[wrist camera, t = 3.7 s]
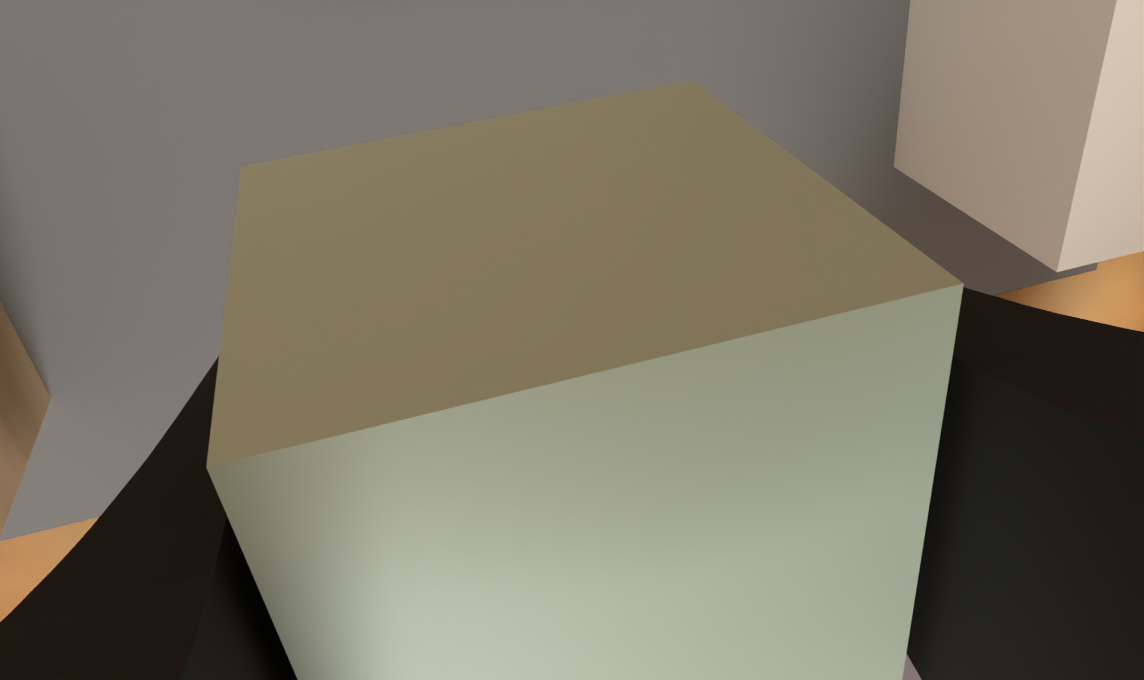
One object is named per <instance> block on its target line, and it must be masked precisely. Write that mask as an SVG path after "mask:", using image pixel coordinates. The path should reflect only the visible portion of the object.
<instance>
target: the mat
mask: <svg viewBox="0 0 1144 680" xmlns="http://www.w3.org/2000/svg"><path fill="white" fill-rule="evenodd" d="M909 9H910V0H0V302H1V304H2V306H3V308H4V310H5V312H6V313H7V315H8V317H9V319H10V321H11V323H12V325H13V327H14V329H15V330H16V332H17V334H18V336H19V338H20V340H21V342H22V344H23V346H24V348H25V349H26V351H27V353H28V355H29V357H30V359H31V361H32V363H33V365H34V367H35V368H36V370H37V372H38V374H39V376H40V378H41V380H42V382H43V384H44V386H45V387H46V389H47V391H48V393H49V395H50V397H51V400H50V403H49V406H48V408H47V411H46V414H45V417H44V419H43V422H42V425H41V427H40V430H39V433H38V435H37V438H36V441H35V444H34V446H33V449H32V452H31V454H30V457H29V460H28V463H27V465H26V468H25V471H24V473H23V476H22V479H21V481H20V484H19V487H18V490H17V492H16V495H15V498H14V500H13V503H12V506H11V508H10V511H9V514H8V517H7V519H6V522H5V525H4V527H3V530H2V533H1V535H0V541H3V540H7V539H11V538H15V537H19V536H23V535H27V534H31V533H35V532H39V531H43V530H47V529H51V528H55V527H59V526H63V525H67V524H71V523H75V522H79V521H84V520H88V519H92V518H96V517H100V516H101V515H102V514H103V512H104V511H105V510H106V509H107V507H108V506H109V505H110V504H111V502H112V501H113V500H114V499H115V498H116V496H117V495H118V494H119V493H120V491H121V490H122V489H123V488H124V486H125V485H126V484H127V483H128V481H129V480H130V479H131V478H132V477H133V475H134V474H135V473H136V472H137V470H138V469H139V468H140V467H141V465H142V464H143V463H144V462H145V460H146V459H147V458H148V456H149V455H150V454H151V452H152V451H153V449H154V448H155V447H156V445H157V444H158V442H159V441H160V440H161V438H162V437H163V436H164V434H165V433H166V431H167V430H168V429H169V427H170V426H171V425H172V423H173V422H174V420H175V419H176V417H177V416H178V414H179V413H180V412H181V410H182V409H183V407H184V406H185V404H186V403H187V401H188V400H189V398H190V397H191V395H192V394H193V393H194V391H195V390H196V388H197V387H198V385H199V384H200V382H201V381H202V379H203V378H204V376H205V375H206V374H207V372H208V371H209V369H210V368H211V366H212V365H213V363H214V362H215V361H216V359H217V358H218V356H219V352H220V344H221V335H222V326H223V317H224V309H225V300H226V291H227V282H228V274H229V265H230V256H231V248H232V239H233V230H234V221H235V213H236V204H237V195H238V186H239V178H240V169H241V166H246V165H252V164H257V163H262V162H267V161H273V160H278V159H283V158H288V157H294V156H299V155H304V154H309V153H314V152H320V151H325V150H330V149H335V148H341V147H346V146H351V145H356V144H361V143H367V142H372V141H377V140H382V139H388V138H393V137H398V136H403V135H408V134H414V133H419V132H424V131H429V130H435V129H440V128H445V127H450V126H455V125H461V124H466V123H471V122H476V121H482V120H487V119H492V118H497V117H503V116H508V115H513V114H518V113H523V112H529V111H534V110H539V109H544V108H550V107H555V106H560V105H565V104H570V103H576V102H581V101H586V100H591V99H597V98H602V97H607V96H612V95H617V94H623V93H628V92H633V91H638V90H644V89H649V88H654V87H659V86H664V85H670V84H675V83H680V82H685V81H691V80H693V81H694V82H695V83H697V84H698V85H699V86H701V87H702V88H703V89H705V90H706V91H707V92H709V93H710V94H711V95H713V96H714V97H715V98H717V99H718V100H719V101H721V102H722V103H723V104H725V105H726V106H727V107H729V108H730V109H731V110H733V111H734V112H736V113H737V114H738V115H740V116H741V117H742V118H744V119H745V120H746V121H748V122H749V123H750V124H752V125H753V126H754V127H756V128H757V129H758V130H760V131H761V132H762V133H764V134H765V135H766V136H768V137H769V138H770V139H772V140H773V141H774V142H776V143H777V144H778V145H780V146H781V147H782V148H784V149H785V150H786V151H788V152H789V153H790V154H792V155H793V156H794V157H796V158H797V159H798V160H800V161H801V162H802V163H804V164H805V165H806V166H808V167H809V168H810V169H812V170H813V171H814V172H816V173H817V174H818V175H820V176H821V177H822V178H824V179H825V180H826V181H828V182H829V183H830V184H832V185H833V186H834V187H836V188H837V189H838V190H840V191H841V192H842V193H844V194H845V195H846V196H848V197H849V198H850V199H852V200H853V201H854V202H856V203H857V204H858V205H860V206H861V207H862V208H864V209H865V210H866V211H868V212H869V213H870V214H872V215H873V216H874V217H876V218H877V219H878V220H880V221H881V222H882V223H884V224H885V225H886V226H888V227H889V228H890V229H892V230H893V231H894V232H896V233H897V234H898V235H900V236H901V237H902V238H904V239H905V240H906V241H908V242H909V243H910V244H912V245H913V246H914V247H916V248H917V249H918V250H920V251H921V252H922V253H924V254H925V255H926V256H928V257H929V258H930V259H932V260H933V261H934V262H936V263H937V264H938V265H940V266H941V267H942V268H944V269H945V270H946V271H948V272H949V273H950V274H952V275H953V276H954V277H956V278H957V279H958V280H960V281H961V282H962V283H964V285H963V287H965V288H968V289H972V290H975V291H978V292H982V293H985V294H989V295H996V294H1000V293H1004V292H1008V291H1012V290H1016V289H1020V288H1024V287H1028V286H1032V285H1036V284H1040V283H1044V282H1048V281H1052V280H1056V279H1060V278H1065V277H1069V276H1073V275H1077V274H1081V273H1085V272H1089V271H1093V270H1096V268H1097V264H1098V262H1097V263H1092V264H1088V265H1084V266H1080V267H1076V268H1072V269H1068V270H1064V271H1060V272H1056V271H1054V270H1052V269H1051V268H1049V267H1048V266H1046V265H1045V264H1043V263H1042V262H1040V261H1039V260H1037V259H1035V258H1034V257H1032V256H1031V255H1029V254H1028V253H1026V252H1025V251H1023V250H1021V249H1020V248H1018V247H1017V246H1015V245H1014V244H1012V243H1011V242H1009V241H1008V240H1006V239H1004V238H1003V237H1001V236H1000V235H998V234H997V233H995V232H994V231H992V230H991V229H989V228H987V227H986V226H984V225H983V224H981V223H980V222H978V221H977V220H975V219H973V218H972V217H970V216H969V215H967V214H966V213H964V212H963V211H961V210H960V209H958V208H956V207H955V206H953V205H952V204H950V203H949V202H947V201H946V200H944V199H943V198H941V197H939V196H938V195H936V194H935V193H933V192H932V191H930V190H929V189H927V188H925V187H924V186H922V185H921V184H919V183H918V182H916V181H915V180H913V179H912V178H910V177H908V176H907V175H905V174H904V173H902V172H901V171H899V170H898V169H896V168H895V167H894V159H895V149H896V139H897V129H898V119H899V109H900V99H901V89H902V79H903V69H904V59H905V49H906V39H907V29H908V19H909Z"/></svg>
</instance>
